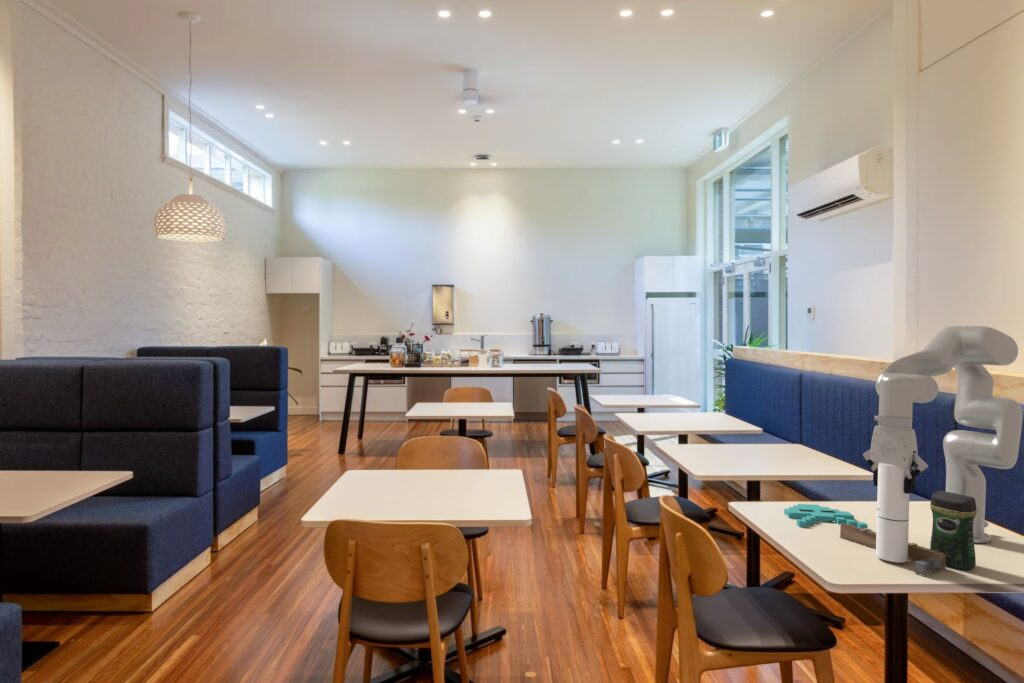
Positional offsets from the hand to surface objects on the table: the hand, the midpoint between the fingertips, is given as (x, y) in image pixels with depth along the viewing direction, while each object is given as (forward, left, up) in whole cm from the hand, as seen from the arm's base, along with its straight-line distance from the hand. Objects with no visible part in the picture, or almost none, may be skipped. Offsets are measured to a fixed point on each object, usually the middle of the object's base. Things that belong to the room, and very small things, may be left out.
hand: (893, 488), depth 159 cm
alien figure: (-16, -32, -20) cm, 41 cm away
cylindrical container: (0, 0, -18) cm, 18 cm away
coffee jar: (-12, +8, -19) cm, 24 cm away
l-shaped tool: (-1, -4, -19) cm, 19 cm away
